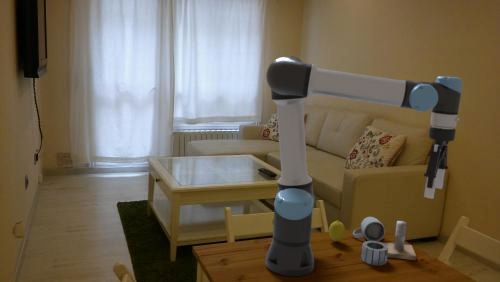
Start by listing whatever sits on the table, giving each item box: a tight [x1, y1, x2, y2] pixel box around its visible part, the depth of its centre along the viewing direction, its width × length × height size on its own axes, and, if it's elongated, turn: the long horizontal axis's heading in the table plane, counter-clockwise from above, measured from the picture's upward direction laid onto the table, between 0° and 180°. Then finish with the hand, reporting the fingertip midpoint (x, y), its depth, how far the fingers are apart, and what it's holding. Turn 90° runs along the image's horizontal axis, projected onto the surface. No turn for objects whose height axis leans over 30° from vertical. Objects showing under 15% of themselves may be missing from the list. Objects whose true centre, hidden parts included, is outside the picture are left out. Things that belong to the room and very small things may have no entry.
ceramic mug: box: [352, 216, 386, 242], centre depth 170 cm, size 11×8×8 cm
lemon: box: [328, 220, 346, 243], centre depth 165 cm, size 6×6×8 cm
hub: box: [360, 240, 388, 267], centre depth 152 cm, size 8×8×5 cm
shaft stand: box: [381, 220, 417, 261], centre depth 158 cm, size 10×9×11 cm
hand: (433, 192), depth 147 cm, fingers open, 13 cm apart
